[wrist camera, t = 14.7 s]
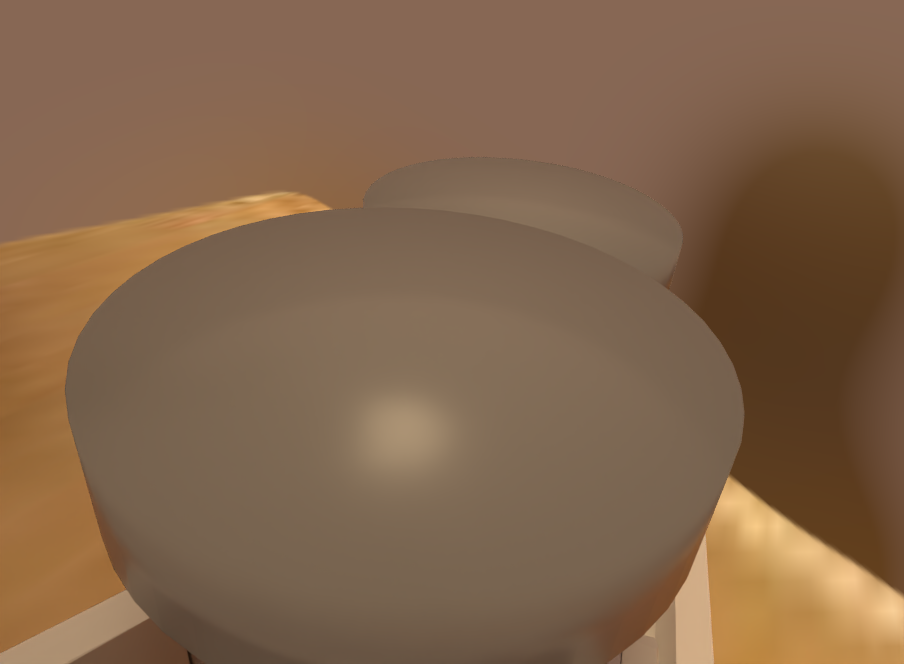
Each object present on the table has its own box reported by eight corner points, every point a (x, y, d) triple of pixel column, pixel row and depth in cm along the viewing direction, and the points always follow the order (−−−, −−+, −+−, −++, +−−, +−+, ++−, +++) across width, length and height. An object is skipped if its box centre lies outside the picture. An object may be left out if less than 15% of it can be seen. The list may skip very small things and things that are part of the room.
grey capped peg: (332, 572, 23) (323, 167, 16) (504, 519, 26) (567, 150, 18) (405, 767, 18) (444, 309, 11) (609, 676, 21) (755, 257, 13)
